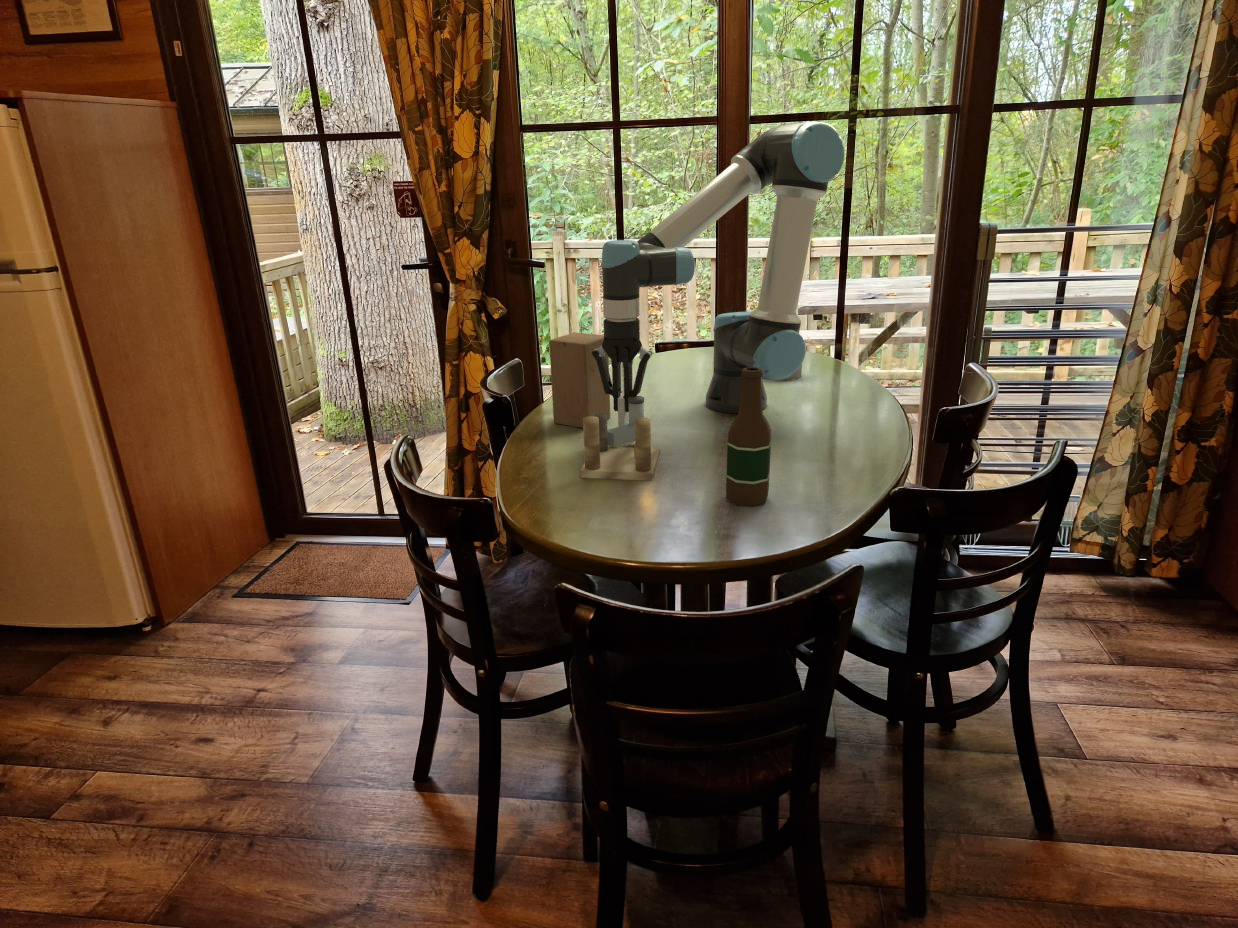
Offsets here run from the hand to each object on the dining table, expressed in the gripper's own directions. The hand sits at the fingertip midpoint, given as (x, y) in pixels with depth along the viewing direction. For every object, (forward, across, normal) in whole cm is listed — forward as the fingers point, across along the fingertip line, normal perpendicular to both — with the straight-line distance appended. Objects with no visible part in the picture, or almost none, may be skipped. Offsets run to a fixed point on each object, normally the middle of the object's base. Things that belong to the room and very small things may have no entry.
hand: (623, 425), depth 172 cm
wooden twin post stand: (+3, -4, +15) cm, 16 cm away
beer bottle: (+3, -31, +26) cm, 40 cm away
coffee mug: (+5, -27, -63) cm, 69 cm away
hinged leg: (+2, -2, +5) cm, 6 cm away
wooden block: (+4, +14, -12) cm, 18 cm away
